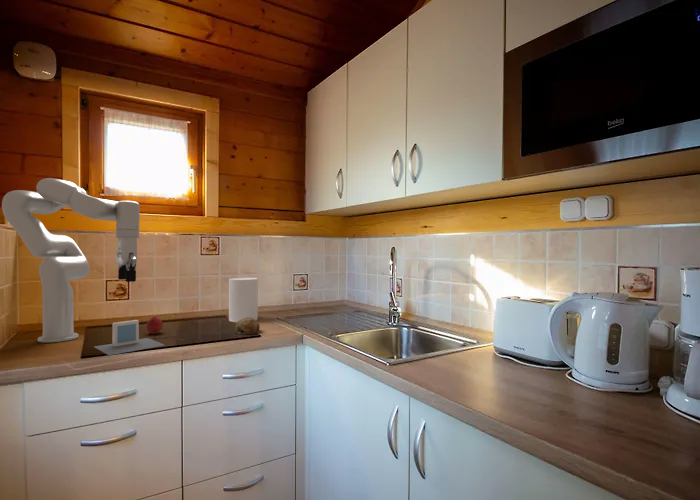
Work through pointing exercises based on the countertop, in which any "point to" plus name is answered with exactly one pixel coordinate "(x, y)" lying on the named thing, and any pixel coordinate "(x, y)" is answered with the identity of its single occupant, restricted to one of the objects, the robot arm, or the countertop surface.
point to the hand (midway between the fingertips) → (126, 280)
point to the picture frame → (125, 332)
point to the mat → (129, 346)
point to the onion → (154, 325)
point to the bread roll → (247, 326)
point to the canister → (243, 298)
